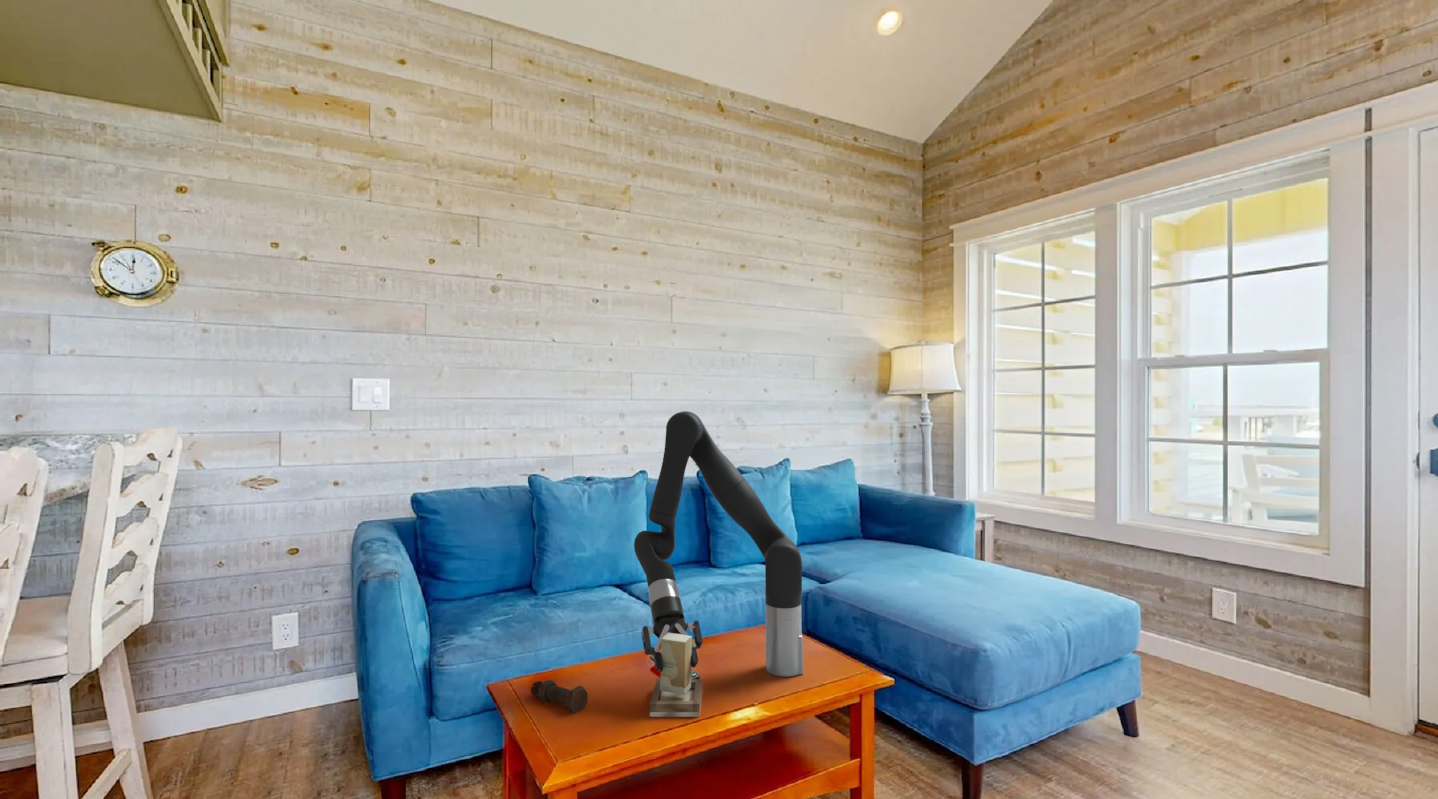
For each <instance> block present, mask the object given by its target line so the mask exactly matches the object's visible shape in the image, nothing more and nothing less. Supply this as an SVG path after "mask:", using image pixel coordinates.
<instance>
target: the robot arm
mask: <svg viewBox="0 0 1438 799" xmlns="http://www.w3.org/2000/svg"><path fill="white" fill-rule="evenodd" d="M689 458H691V459H692V461H693V462H694V463H695V465H696V466H697V467H698V470H699V472H700V473H701V475H702V477H703V479H704V482H705V483H706V486H707V487H708V490H710V493H711V494H712V495H713V497H714V498H715V499H716V501H717V502H718V504H719V505H720V506H721V508H722V509H723V510H724V511H725V512H726V513H727V515H728V516H729V517H730V518H731V519H732V520H733V521H734V522H735V523H736V524H737V525H738V526H739V527H740V528H742V529H743V530H744V532H746V533H747V534H748V535H749V537H750V538H751V539H752V540H753V542H754V544H755V545H756V547H757V548H758V550H759V551H760V553H761V555H762V556H763V558H764V563H765V565H764V567H765V571H764V572H765V576H764V577H765V588H764V589H765V591H764V592H765V594H764V595H765V596H764V598H765V670H766V672H767V673H768V674H770V675H773V676H775V677H781V678H782V677H783V678H784V677H795V676H798V675H803V674H804V653H803V652H804V646H803V644H804V642H803V640H804V639H803V633H802V631H803V630H802V594H803V562H802V560H803V559H802V555H801V553H800V550H799V548H798V546H797V545H796V544H795V543H794V542H793V540H792V539H790V537H789V536H787V534H786V533H785V532H784V531H782V529H781V528H780V527H779V526H778V525H777V524H776V522H775V521H774V520H773V519H772V517H771V516H770V515H769V512H768V511H767V509H766V507H765V505H764V504H763V502H762V501H761V500H760V498H759V496H758V495H757V494H756V492H755V491H754V488H752V486H751V485H750V484H749V482H748V481H747V480H746V478H745V477H744V476H743V474H741V472H740V471H739V470H738V468H736V466H735V465H734V464H733V463H732V462H731V461H730V459H729V458H728V457H727V456H726V455H725V454H724V453H723V452H722V451H721V450H720V448H719V447H718V446H717V444H716V443H715V441H714V439H713V438H712V437H711V435H710V434H709V431H708V430H707V428H706V426H705V425H704V423H703V422H702V419H701V418H700V416H698V415H697V414H695V413H694V412H692V411H686V410H684V411H680V412H676V413H675V414H673V415H672V416H670V418H669V419H668V420H667V422H666V427H665V441H664V451H663V457H662V462H661V463H662V464H661V466H660V467H661V468H660V472H659V475H658V479H657V483H656V486H655V489H654V493H653V497H652V499H651V505H650V508H649V513H648V519H649V521H651V523H653V524H655V525H659V526H661V530H660V531H653V530H642V531H640V532H638V533H637V534H636V536H635V538H634V542H633V548H634V553H635V557H636V558H637V560H638V562H639V565H640V566H641V569H642V570H643V572H644V574H645V577H646V582H647V589H648V600H649V602H648V604H649V606H650V612H651V618H652V623H653V624H652V625H653V626H651V627H648V626H647V625H644V626H643V627H642V630H641V639H642V646H643V650H644V655H646V656H649V655H650V656H652V657H653V661H654V667H655V669H656V670H658V672H659V673H661V672H662V671H663V662H662V657H661V639H662V638H663V637H664V636H665V635H666V634H667V633H674V634H682V635H687V636H690V634H688V632H687V630H689V631H690V632H691V633H692V634H693V639H694V640H693V639H692V662H691V668H696V667H697V664H698V662H699V655H698V651H697V649H700V648H701V647H702V645H703V643H704V641H703V640H704V639H703V637H702V636H703V635H702V632H701V627H700V622H699V621H698V620H694V621H693V622H687V621H686V619H685V614H684V610H683V605H682V601H681V595H680V591H679V588H678V584H677V580H676V577H675V571H674V567H673V564H671V563H670V562H669V561H667V560H668V559H669V558H670V557H672V555H673V554H674V551H675V549H676V547H675V546H676V531H675V530H676V529H675V528H676V516H677V512H678V509H679V505H680V500H681V498H682V494H683V492H682V491H683V484H684V479H685V474H686V468H687V464H688V462H689ZM652 634H654V635H655V636H656V637H657V638H658V640H657V642H656V644H655V646H652V643H651V642H652V641H651V637H652Z"/></svg>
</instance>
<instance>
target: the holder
mask: <svg viewBox="0 0 1438 799" xmlns="http://www.w3.org/2000/svg"><path fill="white" fill-rule="evenodd" d="M650 698H651V699H650V702H649V717H650V718H651V717H654V718H655V717H658V718H659V717H660V718H664V717H667V718H668V717H669V718H671V717H672V718H673V717H675V718H676V717H677V718H678V717H679V718H682V717H683V718H687V717H688V718H690V717H691V718H692V717H693V718H699V717H700V715H701V708H702V707H701V706H702V698H703V679H699V678H698V679H697V678H696V679H693V678H691V688H690V689H689V690H688V691H687V692H686V694H685V695H681V694H676V693H670V692H665V691H660V679H656V680H655V684H654V687H653V691H652V695H651V697H650Z"/></svg>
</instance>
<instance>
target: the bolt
mask: <svg viewBox="0 0 1438 799" xmlns="http://www.w3.org/2000/svg"><path fill="white" fill-rule="evenodd" d="M530 693H531V694H532V695H533V696H535V697H536V696H537V697H538V698H539V700H540V702H542V703H549V702H551V701H552V702H553V701H554V702H556V703H560V704H563V705H565V706H566V707H567V709H568V712H569V713H571V714H577V713H580V712H582V711H583V710H585V708H586V706H587V704H588V699H589V694H588V692H587V690H586V688H585V687H584V686H582V685H578V686H576V687H574V688H572V689H569V688H565V687H562V686H558V684H557V683H556V682H555V681H554V680H552V679H547V680H545V681H540V680H539V681H535V682H533V683H532V685H531V686H530Z"/></svg>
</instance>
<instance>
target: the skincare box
mask: <svg viewBox="0 0 1438 799" xmlns="http://www.w3.org/2000/svg"><path fill="white" fill-rule="evenodd" d="M692 640H693V636H692V635H689V636H687V635H682V634H674V633H667V634H666V635H665V636H664V637H663V638H662V639H661V649H660V652H661V657H662V662H663V671H662V672H660V676H659V677H660V691H665V692H670V693H676V694H681V695H685V694H686V692H687V691H688V690H689V689H690V688H691V679H692V666H691V662H692Z"/></svg>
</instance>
